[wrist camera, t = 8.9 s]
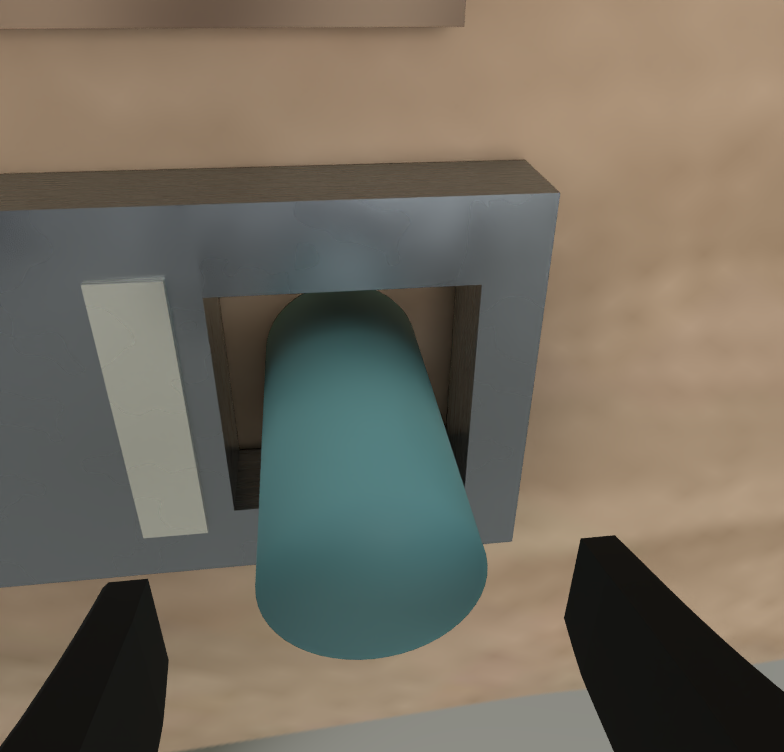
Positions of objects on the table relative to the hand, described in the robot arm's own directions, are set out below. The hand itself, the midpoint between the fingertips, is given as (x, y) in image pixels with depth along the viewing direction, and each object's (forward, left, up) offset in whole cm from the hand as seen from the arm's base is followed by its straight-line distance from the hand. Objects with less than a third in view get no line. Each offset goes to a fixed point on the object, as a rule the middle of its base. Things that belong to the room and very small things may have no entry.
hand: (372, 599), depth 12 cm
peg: (0, 0, -8) cm, 8 cm away
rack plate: (-4, 0, -8) cm, 9 cm away
